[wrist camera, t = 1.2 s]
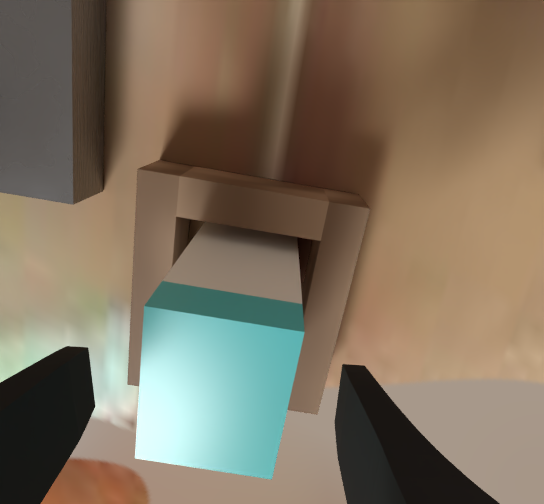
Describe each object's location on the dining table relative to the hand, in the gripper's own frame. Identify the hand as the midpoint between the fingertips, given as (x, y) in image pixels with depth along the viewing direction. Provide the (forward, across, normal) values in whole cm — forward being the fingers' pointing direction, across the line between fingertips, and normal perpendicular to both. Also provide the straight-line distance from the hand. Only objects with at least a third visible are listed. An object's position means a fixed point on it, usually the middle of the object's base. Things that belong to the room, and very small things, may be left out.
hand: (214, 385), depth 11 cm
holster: (+7, 0, 0) cm, 7 cm away
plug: (+7, 0, 0) cm, 7 cm away
